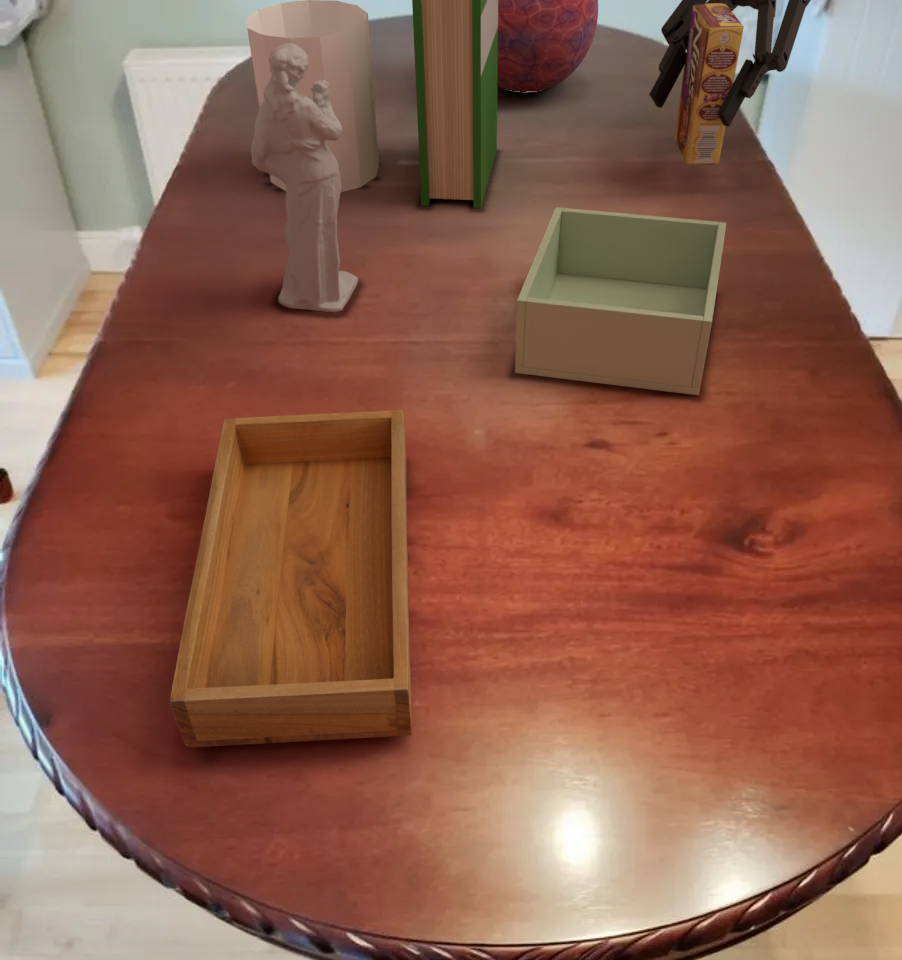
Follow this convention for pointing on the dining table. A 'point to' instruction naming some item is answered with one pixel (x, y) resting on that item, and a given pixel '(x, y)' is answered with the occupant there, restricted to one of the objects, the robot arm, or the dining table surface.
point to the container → (326, 73)
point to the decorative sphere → (542, 41)
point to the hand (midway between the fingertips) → (688, 110)
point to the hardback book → (456, 96)
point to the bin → (620, 300)
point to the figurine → (304, 181)
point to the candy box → (707, 82)
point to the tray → (300, 586)
